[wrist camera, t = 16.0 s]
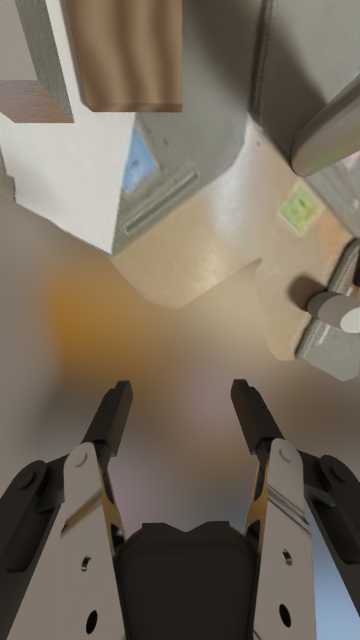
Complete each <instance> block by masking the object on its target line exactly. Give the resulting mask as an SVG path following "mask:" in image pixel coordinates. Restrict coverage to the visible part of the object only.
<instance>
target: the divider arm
mask: <svg viewBox="0 0 360 640" xmlns="http://www.w3.org/2000/svg"><path fill="white" fill-rule="evenodd" d="M0 112H1V113H3V114H4V115H5V116H7V117H8V118H9V119H11V120H12V121H13V122H15V123H74V118H73V114H72V110H71V106H70V102H69V97H68V93H67V89H66V85H65V81H64V77H63V72H62V68H61V64H60V60H59V56H58V51H57V47H56V43H55V39H54V35H53V31H52V26H51V22H50V18H49V14H48V10H47V5H46V1H45V0H0Z"/></svg>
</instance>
